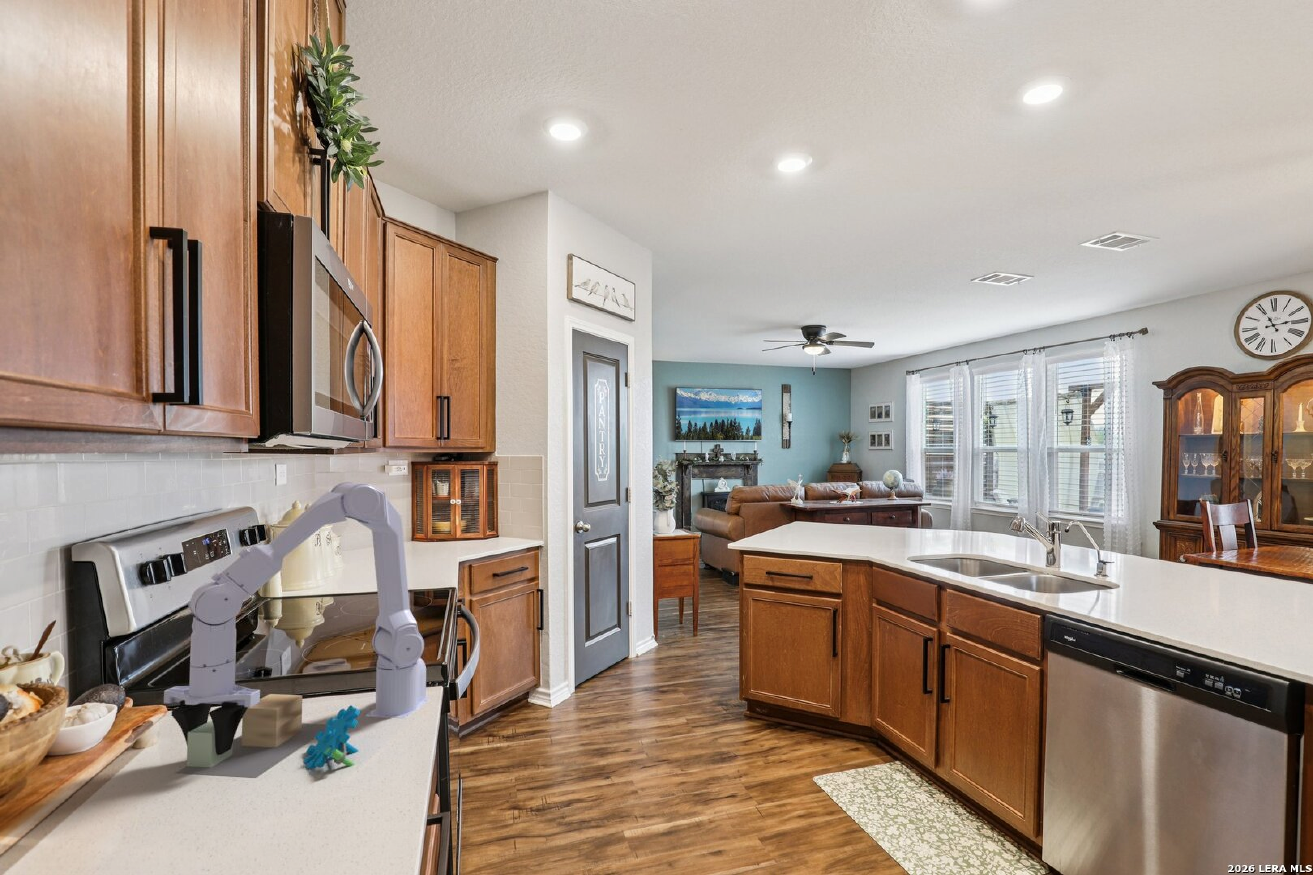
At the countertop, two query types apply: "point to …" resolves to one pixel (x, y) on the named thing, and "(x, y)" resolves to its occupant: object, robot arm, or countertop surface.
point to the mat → (256, 756)
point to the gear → (334, 740)
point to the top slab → (273, 711)
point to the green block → (204, 747)
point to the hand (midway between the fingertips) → (210, 750)
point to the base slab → (271, 734)
